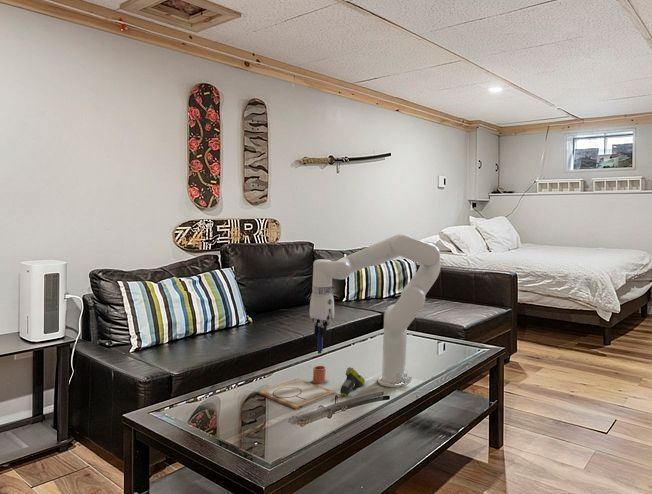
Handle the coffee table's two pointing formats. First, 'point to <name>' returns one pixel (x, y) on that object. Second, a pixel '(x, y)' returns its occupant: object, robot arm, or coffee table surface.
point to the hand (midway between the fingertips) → (320, 335)
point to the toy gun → (351, 381)
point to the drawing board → (296, 393)
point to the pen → (319, 341)
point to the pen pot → (319, 374)
